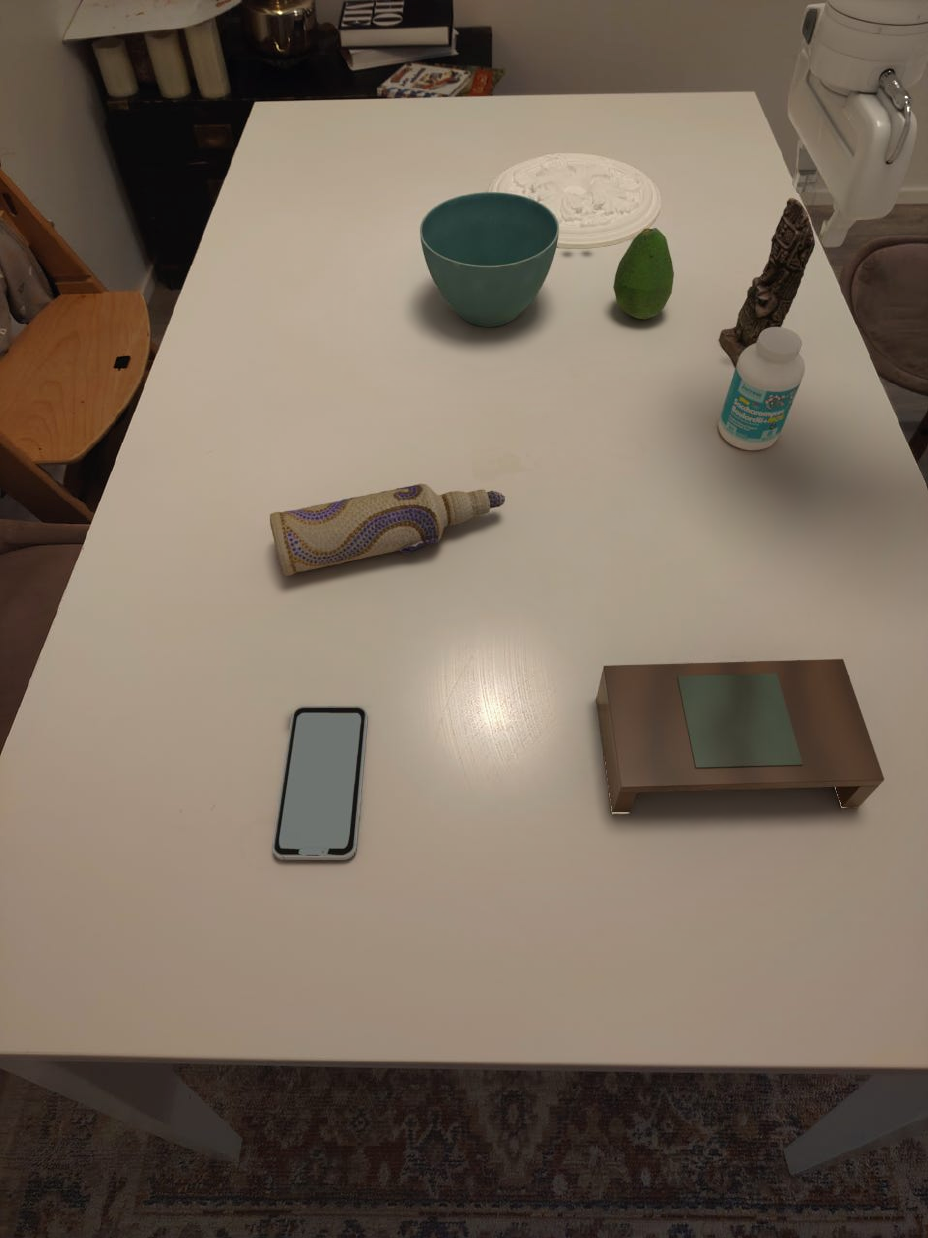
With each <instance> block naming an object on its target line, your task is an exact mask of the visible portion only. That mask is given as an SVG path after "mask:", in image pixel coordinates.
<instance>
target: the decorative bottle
mask: <svg viewBox="0 0 928 1238" xmlns="http://www.w3.org/2000/svg"><path fill="white" fill-rule="evenodd" d="M505 502H506V496H505V495H503V493H501V492H498V491H495V490H490V491H487V490H486V489H477V490H472V491H469V492H465V491H460V490H455V491H447V492H445V493H443V494H437V493H436V492H435V491H434V490H433V489H432V488H431V487H430V485H428V484H426V483H418V484H413V485H410V486H404V487H397V488H395V489H390V490H384V491H379V492H376V493H370V494H366V495H360V496H353V497H350V498H343V499H341V500H336V501H331V502H326V503H320V504H314V505H311V506H306V507H301V508H298V509H291V510H286V511H282V512H281V511H275V512H272V513H269V526H270V530H271V533H272V537H273V538H272V539H273V542H274V545H275V550H276V553H277V558H278V561H279V565H280V569H281V570H282V573H283V575H284V576H293V575H295V574H296V573H298V572H307V571H310V570H315V569H319V568H320V569H321V568H325V567H329V566H333V565H340V564H343V563H345V562H351V561H355V560H356V561H357V560H361V559H365V558H371V557H375V556H382V555H385V554H390V553H393V552H397V551H399V552H401V553H402V554H410V553H412V552H415V551H416V550H418V549H420V548H421V547H423V546H428V545H431V544H434V543H437V542H439V541H440V539H442V536H443V532H444V530H445V528H446V527H447V526H454V525H459V524H462V523H464V522H466V521H467V520H469V519H471V518H473V517H476V516H482V515H486V514H489V513H490V511H491V509H494V508H499V507H501V506H503V505H504V503H505Z"/></svg>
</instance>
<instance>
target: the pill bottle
mask: <svg viewBox="0 0 928 1238" xmlns="http://www.w3.org/2000/svg"><path fill="white" fill-rule="evenodd" d="M802 346H803V340H802V338H801V337H800V335H799V334H798V333H796V332H795V331H793V330H791V329H789V328H786V327H782V326H781V327H770V328H767V329H765V330H763V331H762V332H761V333H760V335H759V337H758V340H757V342H756V343H755V344H752V345H750V346H749V347H747V348H746V349H745V350H744V351H743V352H742V353H741V355H740V357H739V359H738V362H737V365H736V366H735V369H734V371H733V375H732V378H731V381H730V384H729V388H728V391H727V393H726V397H725V400H724V403H723V406H722V410H721V412H720V416H719V419H718V424H717V425H718V431H719V433H720V435H721V437H722V438H723V439H724V440H725V441H726V442H727V443H729V444H730V445H731V446H733V447H736V448H738V449H742V450H746V451H747V450H748V451H760V450H764V449H767V448H770V447H771V446H772V445H774V444H775V443H776V442H777V441H778V439H779V437H780V435H781V432H782V430H783V428H784V425H785V423H786V420H787V418H788V416H789V413H790V410H791V408H792V405H793V403H794V400H795V398H796V395H797V394H798V390H799V388H800V386H801V383H802V380H803V378H804V375H805V371H806V365H805V361H804V358H803V357H802V355H801V354H800V351H801V349H802Z"/></svg>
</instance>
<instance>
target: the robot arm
mask: <svg viewBox="0 0 928 1238" xmlns="http://www.w3.org/2000/svg"><path fill="white" fill-rule="evenodd" d="M799 28H800V29H799V30H800V31H799V32H800V34H801V36H802V38H803V39H802V40H801V43H800V45H799V49H798V52H797V55H796V60H795V64H794V69H793V72H792V77H791V82H790V85H789V86H790V87H789V91H788V97H787V117H788V119H789V121H790V123H791V125H792V126H793V127H794V129H795V131H796V133H797V135H798V140H797V145H796V146H797V147H796V160H795V161H796V162H795V170H794V174H793V178H792V180H791V181H792V182H791V185H792V186H793V188H794V190H795V192H796V193H797V194H810V193H812V192H813V191H814V190H815V188H816V183H817V182H818V180H819V176H821V178H822V180H823V182H824V184H825V185H826V187H827V189H828V191H829V193H830V194H831V196H832V198H833V200H834V203H833V205H832V207H833V208H832V209H833V211H834V212H833V213H832V215H831V216H830V218H829V219H823V222H822V225H821V229H820V231H819V234H818V237H819V240H820V242H821V244H822V246H823V247H824V248H839V247H840V246H842V245H843V243H844V242H845V240H846V236H847V234H848V231H849V229H850V228H852V226H853V225H854V224H855V223H856V222H857V221H870V220H881V219H883V218H884V217H886V216H887V215H888V214H890V212H891V211H892V210H893V209H894V207H895V204H896V202H897V200H898V197H899V194H900V191H901V188H902V185H903V182H904V180H905V177H906V174H907V172H908V167H909V164H910V161H911V158H912V155H913V151H914V147H915V144H916V139H917V134H918V121H917V118H916V115H915V113H914V112H913V110H912V109H911V108H912V105H913V99H914V98H913V95H912V94H911V92H910V91H909V90H908V88H911V87H913V86H915V85H916V84H917V83H918V82H919V81H920V80H921V78H922V76H923V74H924V72H925V71H924V70H925V68H926V65H927V63H928V0H826V1H825V2H823V3H812V4H811V3H810V4H808V5H807V6H806V7H805V10H804V12H803V16H802V19H801V23H800V27H799Z"/></svg>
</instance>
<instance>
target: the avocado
mask: <svg viewBox="0 0 928 1238" xmlns="http://www.w3.org/2000/svg"><path fill="white" fill-rule="evenodd" d="M673 265H674V264H673V260H672V256H671V252H670V248H669V245H668V240H667V237H666V236H665V235H664V234H663V233H662V232H661V231H660V230H659V229H658V228H657V227H654V228H648V229H644V230H643V231H642V232H641V233H640V234H638V235H637V236H636V237H634V238H633V240H632V241H631V243H630V245H629V246H628V248H627V249H626V251H625V252H624V254H623V255H622V257H621V259H620V261H619V262H618V264H617V268H616V270H615V271H616V272H615V275H614V281H613V287H612V288H613V291H614V296H615V299H616V304H617V305H618V306H619V308H620V309H621V310H622V311H624V312H625V313H626V314H627V315H629V316H630V317H632V318H635V319H639V320H648V319H650V318H653V317H656V316H657V315H658V314H659V313H660V312H661V311H662V310H663V309H664V308H665V307H666V304H668V302H669V299H670V298H671V295H672V293H673V285H674V277H675V273H674V266H673Z"/></svg>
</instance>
